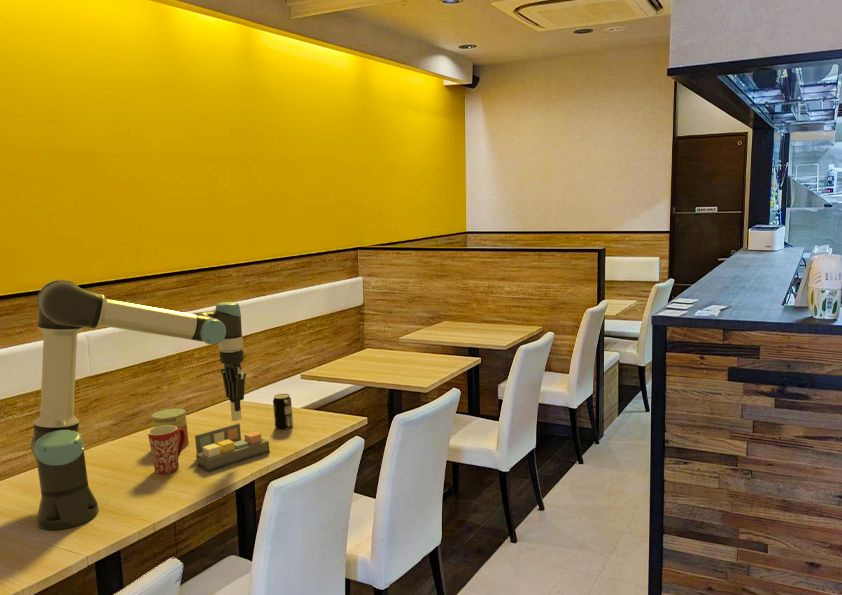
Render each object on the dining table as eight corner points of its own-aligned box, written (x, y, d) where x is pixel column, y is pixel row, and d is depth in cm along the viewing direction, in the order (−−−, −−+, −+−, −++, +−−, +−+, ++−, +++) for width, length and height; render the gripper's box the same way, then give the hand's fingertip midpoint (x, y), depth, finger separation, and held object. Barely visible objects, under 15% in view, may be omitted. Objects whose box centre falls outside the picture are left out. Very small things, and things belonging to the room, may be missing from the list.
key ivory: (209, 460, 227) (208, 449, 226) (203, 457, 230) (202, 446, 229) (220, 456, 229) (219, 446, 229) (215, 453, 232) (214, 443, 232)
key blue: (238, 456, 234) (237, 446, 233) (232, 453, 236) (231, 443, 236) (249, 452, 236) (248, 442, 236) (243, 449, 239) (242, 439, 239)
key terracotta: (251, 447, 237) (250, 437, 236) (245, 444, 240) (244, 434, 239) (261, 443, 239) (261, 433, 239) (255, 441, 242) (255, 431, 242)
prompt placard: (198, 459, 236) (196, 436, 235) (197, 458, 237) (194, 435, 236) (241, 445, 247) (239, 423, 246) (240, 445, 248) (238, 423, 247)
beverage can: (274, 425, 267) (271, 394, 265) (292, 423, 269) (289, 392, 267) (276, 431, 261) (273, 399, 259) (294, 428, 263) (291, 397, 261)
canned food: (148, 451, 246) (145, 418, 244) (165, 440, 257) (162, 408, 255) (178, 452, 244) (175, 418, 242) (194, 440, 255) (191, 408, 253)
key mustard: (223, 455, 230) (222, 445, 229) (217, 452, 233) (216, 442, 232) (234, 452, 233) (234, 442, 232) (229, 449, 236) (228, 439, 235)
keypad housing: (208, 472, 225) (207, 460, 224) (197, 465, 231) (196, 454, 230) (269, 452, 239) (268, 441, 239) (257, 446, 245) (256, 435, 244)
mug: (164, 477, 222) (159, 436, 220) (145, 472, 227) (141, 432, 225) (196, 463, 233) (192, 423, 231) (177, 459, 238) (173, 420, 235)
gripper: (251, 350, 229) (256, 421, 232) (232, 345, 238) (237, 413, 242) (230, 354, 224) (235, 426, 227) (211, 349, 233) (216, 418, 237)
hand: (236, 419), depth 234 cm, fingers closed
